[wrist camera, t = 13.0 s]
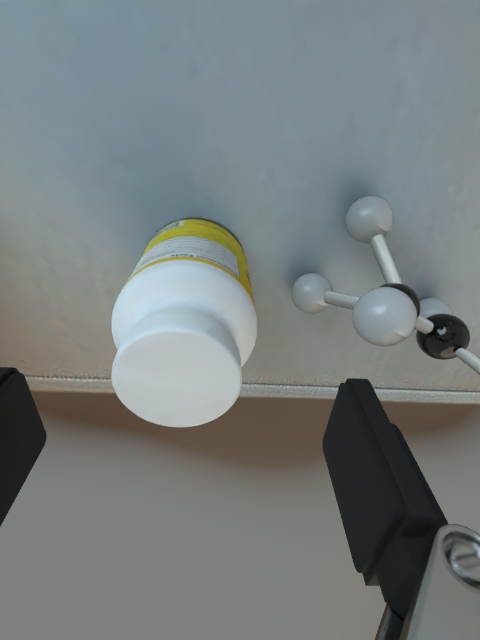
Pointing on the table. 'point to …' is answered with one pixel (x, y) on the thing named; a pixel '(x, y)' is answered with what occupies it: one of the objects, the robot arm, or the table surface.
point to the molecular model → (388, 296)
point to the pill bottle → (184, 325)
